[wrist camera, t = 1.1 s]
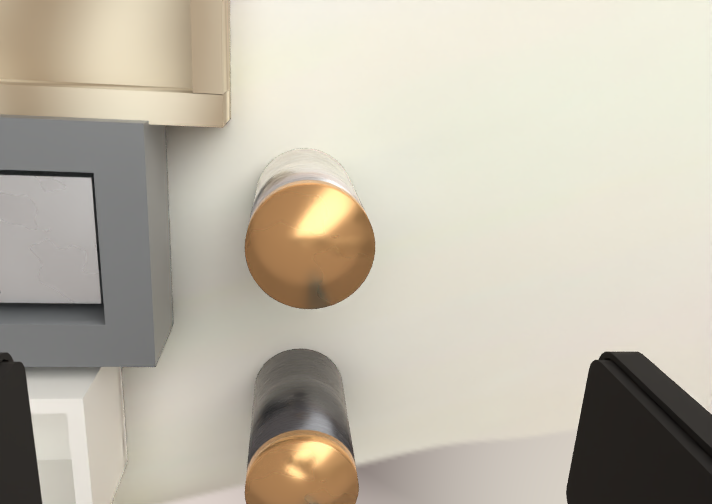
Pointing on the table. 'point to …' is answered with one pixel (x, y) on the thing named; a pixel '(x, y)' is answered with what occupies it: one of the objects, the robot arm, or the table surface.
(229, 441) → the table surface
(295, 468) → the black cell
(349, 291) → the cylinder
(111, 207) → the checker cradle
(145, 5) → the trough
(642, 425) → the robot arm
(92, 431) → the cup
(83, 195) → the plate
